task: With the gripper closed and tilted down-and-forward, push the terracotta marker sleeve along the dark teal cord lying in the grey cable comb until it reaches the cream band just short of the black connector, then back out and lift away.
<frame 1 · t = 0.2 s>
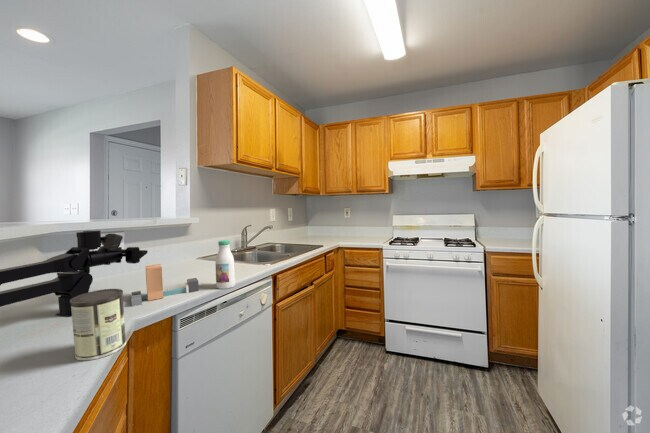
hand: (138, 251, 118), 16 cm above the counter, tool horizontal, fingers open, 9 cm apart
cable comb run: (166, 295, 111), on the counter
milk bottle: (225, 287, 121), on the counter
coffee can: (101, 350, 70), on the counter
marker sleeve: (154, 281, 109), point 6 cm above the counter, slide at 0.0 cm
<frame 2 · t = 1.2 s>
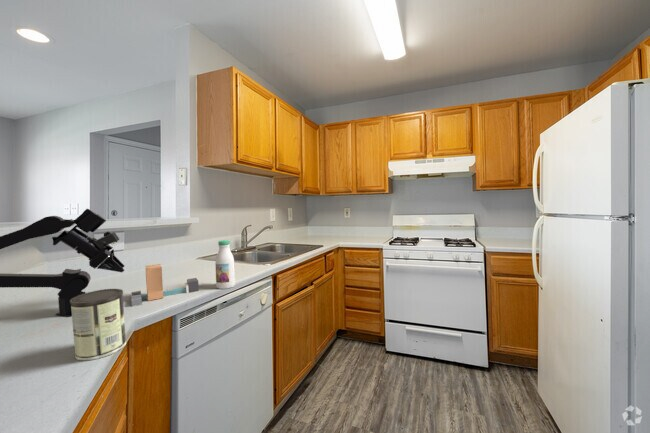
hand: (123, 269, 103), 13 cm above the counter, tool tilted 45°, fingers open, 8 cm apart
nothing on the counter moved.
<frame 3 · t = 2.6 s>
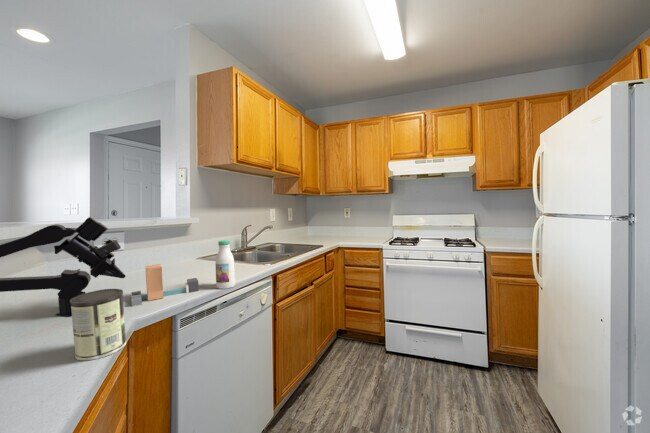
hand: (124, 277, 103), 10 cm above the counter, tool tilted 45°, fingers closed
nothing on the counter moved.
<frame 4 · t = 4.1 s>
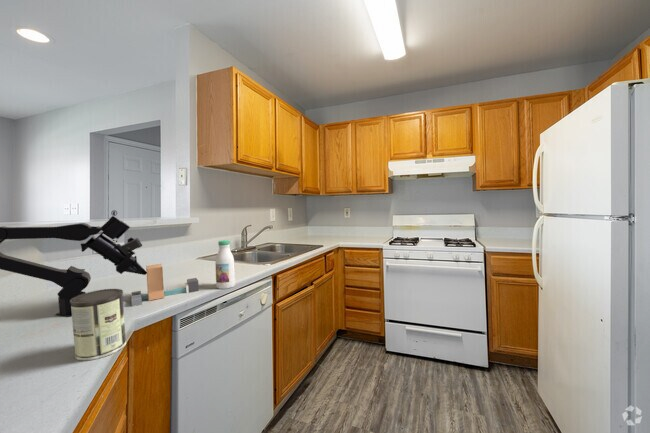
hand: (146, 273, 107), 10 cm above the counter, tool tilted 45°, fingers closed, pressing on marker sleeve
marker sleeve: (155, 281, 109), point 6 cm above the counter, slide at 0.3 cm, touching gripper
everything else where it was.
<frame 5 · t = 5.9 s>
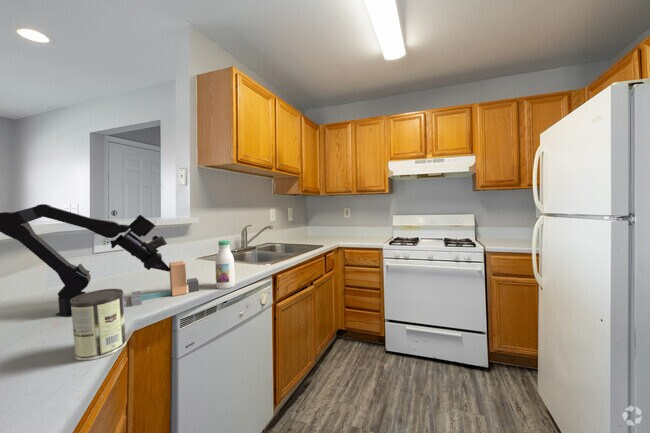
hand: (169, 270, 111), 10 cm above the counter, tool tilted 45°, fingers closed, pressing on marker sleeve
marker sleeve: (177, 277, 113), point 6 cm above the counter, slide at 8.2 cm, touching gripper
everything else where it was.
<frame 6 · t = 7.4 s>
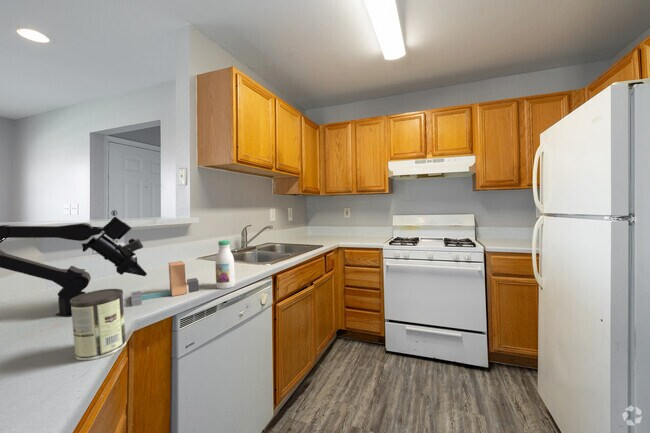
hand: (146, 275, 107), 9 cm above the counter, tool tilted 45°, fingers closed
marker sleeve: (177, 278, 113), point 6 cm above the counter, slide at 8.0 cm
everything else where it was.
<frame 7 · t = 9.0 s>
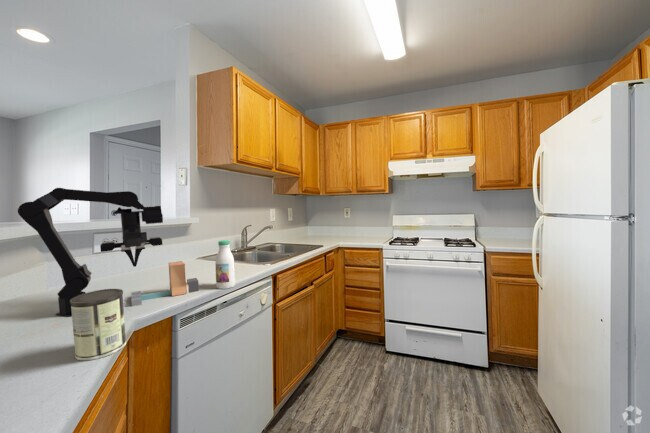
hand: (134, 266, 105), 13 cm above the counter, tool pointing down, fingers closed
nothing on the counter moved.
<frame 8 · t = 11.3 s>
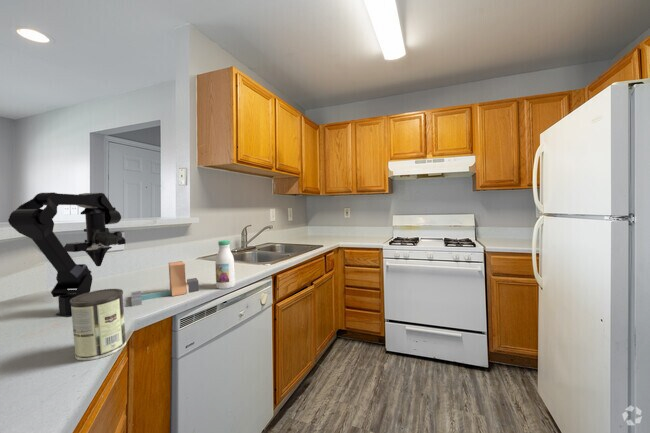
hand: (98, 266, 107), 13 cm above the counter, tool pointing down, fingers closed
nothing on the counter moved.
at the end: marker sleeve slide at 8.0 cm; the gripper is holding nothing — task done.
